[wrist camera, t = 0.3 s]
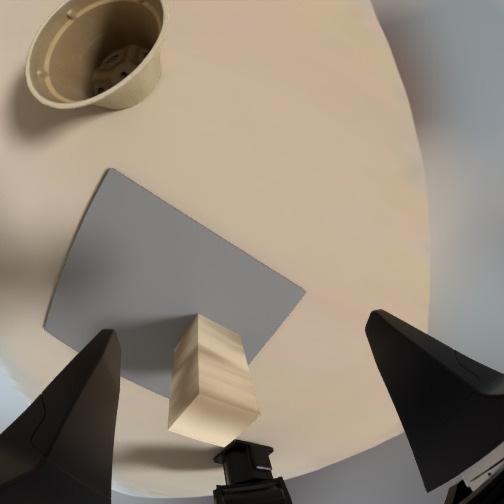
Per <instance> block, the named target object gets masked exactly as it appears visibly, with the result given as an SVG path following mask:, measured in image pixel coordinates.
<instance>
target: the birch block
mask: <svg viewBox="0 0 504 504" xmlns="http://www.w3.org/2000/svg"><path fill="white" fill-rule="evenodd" d="M260 415H261V414H260V410H259V406H258V403H257V399H256V395H255V391H254V388H253V384H252V380H251V376H250V372H249V368H248V364H247V360H246V356H245V352H244V348H243V344H242V340H241V336H240V335H239V334H237V333H235V332H233V331H231V330H229V329H227V328H225V327H223V326H221V325H219V324H217V323H215V322H213V321H211V320H209V319H207V318H206V317H204V316H202V315H200V314H198V315H197V316H196V318H195V319H194V321H193V322H192V324H191V325H190V326H189V328H188V329H187V331H186V332H185V334H184V335H183V337H182V338H181V340H180V341H179V343H178V344H177V346H176V347H175V350H174V359H173V369H172V379H171V390H170V403H169V417H168V430H169V431H172V432H175V433H178V434H181V435H184V436H187V437H190V438H193V439H196V440H199V441H203V442H206V443H210V444H213V445H217V446H221V447H226V446H227V445H228V444H229V443H230V442H232V441H233V440H234V439H235V438H236V437H237V436H238V435H239V434H241V433H242V432H243V431H244V430H245V429H246V428H247V427H248V426H249V425H250V424H252V423H253V422H254V421H255V420H256V419H257V418H258V417H259V416H260Z"/></svg>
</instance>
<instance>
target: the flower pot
mask: <svg viewBox="0 0 504 504" xmlns="http://www.w3.org/2000/svg"><path fill="white" fill-rule="evenodd" d="M168 25H169V8H168V4H167V1H166V0H65V1H64V2H62V4H60V6H58V7H57V8H56V9H55V10H54V11H53V12H52V13H51V14H50V15H49V16H48V18H47V19H46V20H45V21H44V23H43V24H42V25H41V26H40V29H39V30H38V31H37V33H36V35H35V37H34V38H33V41H32V43H31V45H30V48H29V51H28V55H27V60H26V67H25V76H26V81H27V85H28V88H29V90H30V92H31V93H32V95H33V96H34V97H35V98H36V99H37V100H38V101H39V102H41V103H42V104H44V105H46V106H48V107H51V108H56V109H74V108H80V107H84V106H87V105H90V104H92V105H97V106H102V107H106V108H109V109H124V108H128V107H131V106H134V105H136V104H138V103H139V102H141V101H142V100H144V99H145V98H146V97H147V96H148V95H149V94H150V93H151V92H152V91H153V89H154V88H155V86H156V85H157V82H158V80H159V77H160V73H161V61H160V46H161V45H162V43H163V41H164V38H165V36H166V33H167V30H168ZM145 53H148V55H147V56H146V57H145V56H144V54H145ZM116 55H118V57H117V58H115V59H114V61H111V62H110V63H107V62H108V61H109V60H110V59H111V58H112V57H114V56H116ZM123 72H126V76H122V73H123ZM100 88H103V90H104V91H105V92H103V93H101V94H100V93H99V89H100Z"/></svg>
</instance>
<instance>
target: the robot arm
mask: <svg viewBox="0 0 504 504" xmlns="http://www.w3.org/2000/svg"><path fill="white" fill-rule="evenodd" d="M365 332H366V336H367V338H368V341H369V344H370V347H371V350H372V353H373V356H374V359H375V362H376V364H377V367H378V369H379V372H380V374H381V376H382V378H383V380H384V383H385V385H386V387H387V390H388V392H389V394H390V397H391V399H392V401H393V404H394V406H395V408H396V411H397V413H398V416H399V418H400V421H401V423H402V425H403V428H404V431H405V433H406V435H407V438H408V441H409V443H410V446H411V448H412V451H413V454H414V457H415V460H416V463H417V465H418V468H419V471H420V474H421V476H422V480H423V483H424V486H425V488H426V491H427V493H428V492H430V491H432V490H434V489H436V488H437V487H439V486H441V485H443V484H444V483H446V482H448V481H449V480H451V479H453V478H454V477H456V476H457V475H459V474H460V475H461V477H462V479H461V480H459V481H458V482H457V483H455V484H454V485H453V486H451V487H450V488H449V491H448V494H447V497H446V500H445V503H444V504H504V374H503V373H500V372H498V371H496V370H493V369H491V368H489V367H487V366H485V365H483V364H481V363H478V362H476V361H475V360H472V359H470V358H469V357H467V356H465V355H463V354H461V353H459V352H458V351H456V350H453V349H452V348H450V347H449V346H447V345H445V344H443V343H442V342H440V341H438V340H436V339H435V338H433V337H431V336H429V335H427V334H426V333H424V332H422V331H420V330H418V329H417V328H415V327H413V326H411V325H410V324H408V323H406V322H404V321H402V320H400V319H399V318H397V317H395V316H393V315H391V314H390V313H388V312H386V311H384V310H382V309H379V310H373V311H372V312H371V313H370V316H369V319H368V321H367V324H366V327H365ZM120 370H121V345H120V342H119V340H118V337H117V334H116V331H115V330H114V329H107V328H104V329H102V330H101V331H100V332H99V333H98V334H97V335H96V336H95V337H94V338H93V339H92V340H91V341H90V342H89V343H88V344H87V345H86V346H85V347H84V348H83V349H82V350H81V351H80V352H79V353H78V354H77V355H76V356H75V357H74V358H73V359H72V360H71V361H70V363H69V364H68V365H67V366H66V367H65V368H64V369H63V370H62V371H61V372H60V373H59V374H58V375H57V376H56V377H55V379H54V380H53V381H52V382H51V383H50V384H49V385H48V386H47V387H46V388H45V390H44V391H43V392H42V394H40V395H39V396H38V397H37V398H36V399H35V401H34V402H33V403H32V404H31V405H30V406H29V407H28V408H27V409H26V410H25V411H24V412H23V413H22V414H21V415H20V416H19V417H18V418H17V419H16V420H15V421H14V422H13V423H12V424H11V425H10V426H9V427H8V428H6V430H4V431H3V432H2V434H0V504H111V479H112V459H113V446H114V434H115V425H116V416H117V408H118V400H119V392H120ZM273 451H274V450H273V448H271V447H266V446H262V445H257V444H252V443H248V442H244V441H240V440H237V441H234V442H233V443H232V444H231V445H230V446H229V447H227V448H226V449H225V450H224V451H223V452H221V453H220V454H219V455H218V456H217V457H215V458H214V462H215V463H219V464H223V467H224V474H225V481H226V485H222V486H221V485H216V487H217V489H215V490H213V494H214V504H292V501H291V498H290V495H289V493H288V490H287V488H286V485H285V483H284V480H283V478H282V477H278V478H275V479H273V476H272V472H271V470H272V467H271V463H270V460H269V456H268V455H270V454H271V453H272V452H273Z"/></svg>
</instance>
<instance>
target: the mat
mask: <svg viewBox="0 0 504 504" xmlns="http://www.w3.org/2000/svg"><path fill="white" fill-rule="evenodd" d="M305 293H306V291H305V290H304V289H303V288H301V287H299V286H298V285H296V284H295V283H293V282H291V281H290V280H288V279H287V278H285V277H283V276H282V275H280V274H279V273H277V272H276V271H274V270H272V269H271V268H269V267H268V266H266V265H264V264H263V263H261V262H260V261H258V260H256V259H255V258H253V257H252V256H250V255H249V254H247V253H245V252H244V251H242V250H241V249H239V248H237V247H236V246H234V245H233V244H231V243H230V242H228V241H226V240H225V239H223V238H222V237H220V236H219V235H217V234H215V233H214V232H212V231H211V230H209V229H207V228H206V227H204V226H203V225H201V224H200V223H198V222H196V221H195V220H193V219H192V218H190V217H189V216H187V215H185V214H184V213H182V212H181V211H179V210H178V209H176V208H174V207H173V206H171V205H170V204H168V203H167V202H165V201H163V200H162V199H160V198H159V197H157V196H156V195H154V194H152V193H151V192H149V191H148V190H146V189H145V188H143V187H142V186H140V185H138V184H137V183H135V182H134V181H132V180H131V179H129V178H127V177H126V176H124V175H123V174H121V173H120V172H118V171H116V170H115V169H113V168H110V170H109V172H108V173H107V175H106V177H105V179H104V181H103V182H102V184H101V186H100V188H99V190H98V192H97V194H96V196H95V198H94V200H93V202H92V204H91V206H90V208H89V210H88V212H87V214H86V216H85V218H84V220H83V222H82V225H81V227H80V229H79V231H78V234H77V236H76V238H75V240H74V243H73V245H72V248H71V250H70V253H69V255H68V258H67V260H66V263H65V265H64V268H63V271H62V274H61V276H60V279H59V282H58V285H57V288H56V291H55V294H54V297H53V300H52V304H51V307H50V310H49V314H48V317H47V321H46V325H45V328H44V330H46V331H47V332H48V333H50V334H51V335H53V336H54V337H56V338H57V339H59V340H60V341H62V342H63V343H65V344H66V345H68V346H69V347H71V348H72V349H74V350H76V351H77V352H80V351H81V350H82V349H83V348H84V347H85V346H86V345H87V344H88V343H89V342H90V341H91V340H92V339H93V338H94V337H95V336H96V335H97V334H98V333H99V332H100V331H101V330H102V329H104V328H107V329H114V330H115V331H116V334H117V337H118V340H119V342H120V345H121V370H120V376H122V377H124V378H126V379H127V380H129V381H132V382H134V383H136V384H138V385H140V386H142V387H144V388H146V389H148V390H151V391H153V392H155V393H157V394H160V395H162V396H164V397H167V398H169V399H170V390H171V379H172V369H173V359H174V350H175V347H176V346H177V344H178V343H179V341H180V340H181V338H182V337H183V335H184V334H185V332H186V331H187V329H188V328H189V326H190V325H191V324H192V322H193V321H194V319H195V318H196V316H197V315H198V314H200V315H202V316H204V317H206V318H207V319H209V320H211V321H213V322H215V323H217V324H219V325H221V326H223V327H225V328H227V329H229V330H231V331H233V332H235V333H237V334H239V335H240V336H241V340H242V344H243V348H244V352H245V356H246V360H247V364H249V363H250V362H251V361H252V360H253V359H254V357H255V356H256V355H257V354H258V353H259V351H260V350H261V349H262V348H263V347H264V345H265V344H266V343H267V342H268V340H269V339H270V338H271V337H272V336H273V334H274V333H275V332H276V331H277V329H278V328H279V327H280V326H281V324H282V323H283V322H284V321H285V319H286V318H287V317H288V315H289V314H290V313H291V312H292V310H293V309H294V308H295V306H296V305H297V304H298V303H299V301H300V300H301V299H302V297H303V296H304V295H305Z"/></svg>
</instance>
